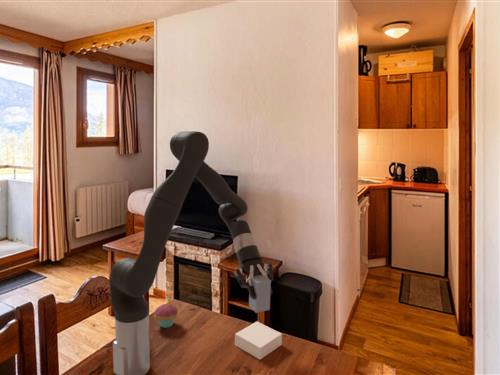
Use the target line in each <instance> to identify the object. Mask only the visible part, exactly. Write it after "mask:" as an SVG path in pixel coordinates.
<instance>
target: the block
mask: <svg viewBox="0 0 500 375" xmlns="http://www.w3.org/2000/svg"><path fill="white" fill-rule="evenodd" d="M251 280H252V283H253V285H252V286H254V289H255V292H256V296H257V298H256V299H254V300H253V299H252V298H251V297H250V294H248V307H249V308H250V309H251V310H252V311H253V312H254V313H255V314H258V313H262V312H266V311H270V310H271V296H270V289H271V288H272V285H271V284H272V281H271V280H270V279H268V278H267V277H265V276H262V275H259V276H254V277H253V279H251Z"/></svg>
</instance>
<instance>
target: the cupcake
mask: <svg viewBox="0 0 500 375" xmlns="http://www.w3.org/2000/svg"><path fill="white" fill-rule="evenodd" d="M170 302H171V291H169V293H168V295H167V304H166V303H164V304H160V306H159V305H158V307H156V308H155V310H154V312H153V318H154V319H155V320H157V322H158V324H159V326H160V327H161V328H165V329H166V328H170V327H172V325H173V324H174V322H175V320H176V318H177V317H178V314H179V309H178V308H177V306H176V305H174V304H171V303H170Z"/></svg>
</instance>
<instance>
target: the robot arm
mask: <svg viewBox="0 0 500 375" xmlns="http://www.w3.org/2000/svg"><path fill="white" fill-rule="evenodd" d="M209 148H210V143H209V138H208V136H207V135H206V134H205V133H204V132H201V131H198V130H197V131H196V130H195V131H189V130H188V131H186V130H185V131H177V132H176V133H174V134H173V135H172V136H171V139H170V140H169V149H170V152H171V154H172V155H173V157H174V158H175V159H176V160H178V164H177V165H176V167H175V169H174V170H173V171H172V173H171V174H169V176H168V177H167V178H165V179H164V181H163V182H162V183H160V185H158V186H157V188H156V189H155V190H154V192H153V193H152V195H151V197H150V200H149V201H148V204H147V206H146V208H145V212H144V215H143V240H142V241H143V242H142V245H141V248H140V250H139V253H138V254H137V258H136V259H134V258H132V257H125V258H121V259H119V260H118V261H116V263H114V265H113V266H112V267H111V271H110V274H109V293H110V301H111V302H110V303H111V308H112V310H113V312H114V325H115V326H114V327H115V329H114V330H115V332H114V333H115V340H113V342H112V358H113V359H112V360H113V373H114V374H115V375H146V374H147V373H149V371H150V369H151V366H150V365H151V364H150V363H151V359H150V356H151V355H150V354H151V352H150V305H149V302H148V301H147V299H146V298H145V297H144V296H145V295H146V294H147V293H148V292H149V291H150V289H151V287H152V286H153V284H154V282H155V279H156V276H157V273H158V270H159V266H160V263H161V259H162V257H163V254H164V251H165V248H166V245H167V243H168V240H169V238H170V235H171V232H172V231H173V229H174V225H175V223H176V221H177V219H178V216H179V214H180V212H181V210H182V207H183V204H184V202H185V199H186V198H187V194H188V193H189V190H190V189H191V186H192V185H193V184H192V183H193V182H194V180H195V178H196V180H198V181H199V182H200V183H201V185H202V186H203V187H204V189H206V191H207V193H208V194H209V195H210V196H211V198H212V199H213V201H214V202H215V203H216V204H218V205H219V206H218V207H219V208H218V215H219V216H220V218H221V220H222V221H223V222H224V223H225V225H226V227H227V228H228V230H229V233H230V235H231V239H232V242H233V248H234V252H235V254H236V256H237V259H238V262H239V265H240V268H236V269H235V271H234V272H233V275H234V276H235V278H236V280H237V282H238V284H239V285H240V288H242V289H247V291H248V293H249V294H250V297H251V298H252V299H253V300H254V299H256V298H257V296H256V292H255V289H254V286H252V285H253V283H252V280H251V279H253V277H254V276H259V275H262V276H265V277H267V278H268V279H270V280H271V282H272V281H274V279H275V277H274V276H275V275H274V269H273V265H272V264H273V263H271V262H269V263H268V264H267V263H264V262H263V261H262V257H261V253H260V251H259V248H258V246H257V243H256V240H255V238H254V236H253V234H252V231H251V229H250V228H251V227H250V226H249V223H248V222H247V221H246V220H245V219H244V220H243V219H242V220H236V219H238V218H241V217H243V216H245V215H246V214H247V212H248V205H247V203H246V200H244V199H243V197H241V196H239V195H238V194H237V193H235V191H233V190H232V189H231V187H230V186H229V184H228V183H227V182H226V180H225V179H224V177H223V176H222V175H221V174H220V173H218V172H217V171H216V170H215V169H213V167H211V166H210V165H208V164H207V163H206V161H205V159H206V157H207V155H208V152H209ZM234 220H235V221H234ZM264 270H265V271H264ZM243 274H244V275H245V277H244V275H243ZM249 294H248V295H249ZM271 296H273V289H272V287H271V289H270V297H271Z"/></svg>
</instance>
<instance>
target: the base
mask: <svg viewBox="0 0 500 375" xmlns="http://www.w3.org/2000/svg"><path fill="white" fill-rule="evenodd" d="M282 338H283V333H281V332H279V331H277V330H275V329H273V328H271V327H269V326H267V325H265V324H263V323H261V322H259V321H255V322H253V323H252V324H250V325H248V326H246V327H245V328H242V329H241V330H239V331H237V332H236V333H235V334H234V346H236V347H238V348H239V349H241V350H242V351H244V352H246V353H248V354H249V355H252V356H253V357H254V358H256V359H258V360H259V361H260V360H262V359H263V358H265V357H266V356H268V355H269V354H271V353H272V352H274V351H275V350H276V349H277V348H279V347H280V346H282V340H283V339H282Z"/></svg>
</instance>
